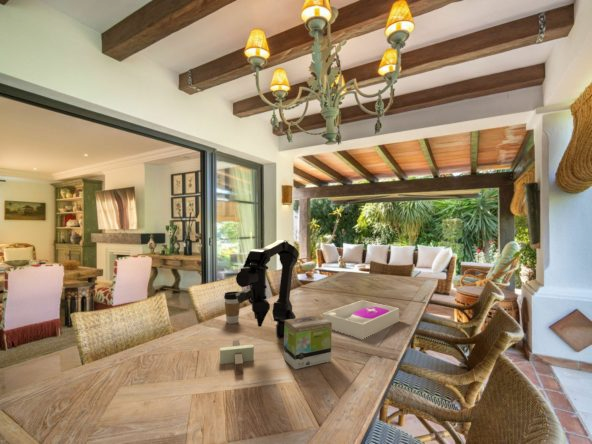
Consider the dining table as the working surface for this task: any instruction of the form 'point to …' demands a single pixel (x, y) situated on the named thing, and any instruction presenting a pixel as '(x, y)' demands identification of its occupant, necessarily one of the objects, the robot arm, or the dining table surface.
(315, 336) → the tea box
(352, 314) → the cream tray
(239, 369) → the walnut rail
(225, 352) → the pale green pillar
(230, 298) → the coffee cup
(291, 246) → the robot arm
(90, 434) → the dining table surface
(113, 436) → the dining table surface
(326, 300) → the dining table surface
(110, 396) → the dining table surface
